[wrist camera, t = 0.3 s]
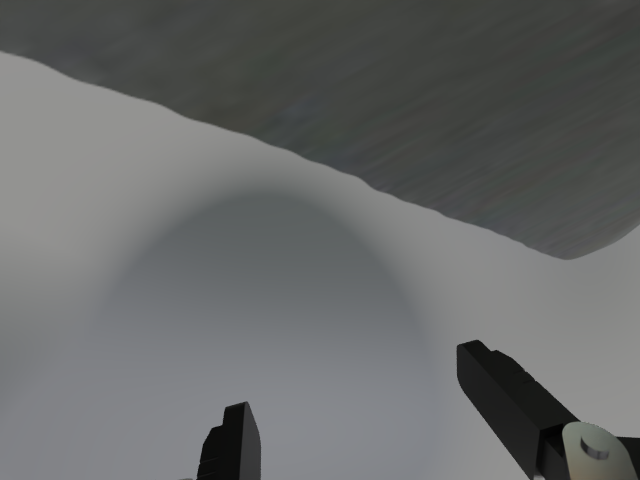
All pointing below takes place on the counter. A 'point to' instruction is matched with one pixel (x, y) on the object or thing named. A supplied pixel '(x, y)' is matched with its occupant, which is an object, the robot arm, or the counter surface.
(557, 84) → the counter surface
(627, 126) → the counter surface
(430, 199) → the counter surface
